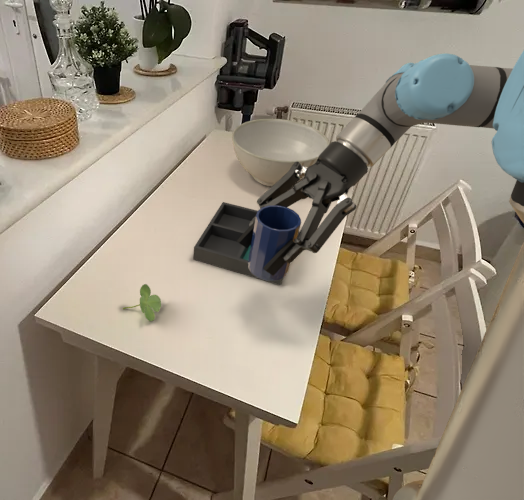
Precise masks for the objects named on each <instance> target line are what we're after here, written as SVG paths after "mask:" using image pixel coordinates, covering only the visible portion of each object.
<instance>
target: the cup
mask: <svg viewBox="0 0 524 500" xmlns="http://www.w3.org/2000/svg"><path fill="white" fill-rule="evenodd" d="M300 223H301V224H302V218H301V217H300V214H299V213H297V212H296V211H295V210H294V209H291V208H289V207H283V206H278V205H269V206H266V207H262V208H261V209H260V208H259V209H258V210H257V214H256V219H255V224H254V230H253V236H252V242H251V248H250V253H249V259H248V268H249V270H250V272H251V273H252V274H253V275H255V276H256V277H258V278H260V279H259V280H261V279H263V280H262V281H264V280H267V281H266V282H268V281H276V280H280V279H282V280H283V279H284V278H285V277H286V276H287V275H288V273H289V270H290V265H291V263H288V262H286V263H285V264H284V265H283V266H282V267H281V268H280V269H279V270H278V271H277V272H276V273H275V274H274V276H273V275H271V274H270V273H268V272H266V271H265V270H264V269H263V267H264V266H265V265H266V264H267V263H268V262H269V261H270V260H271V259H272V258H273V257H274V256H275V255H276V254H277V253H278V252H279V251H280V250H281V249H282V248H283V246H284V245H285V244H286V243H287V242H288V241H289V240H290V239H291V240H292V241H294V238H295V239H297V237H298V236H297V235H299V233H298V231H299V232H300V229H301V226H300ZM299 228H300V229H299ZM258 278H257V279H258Z"/></svg>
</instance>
